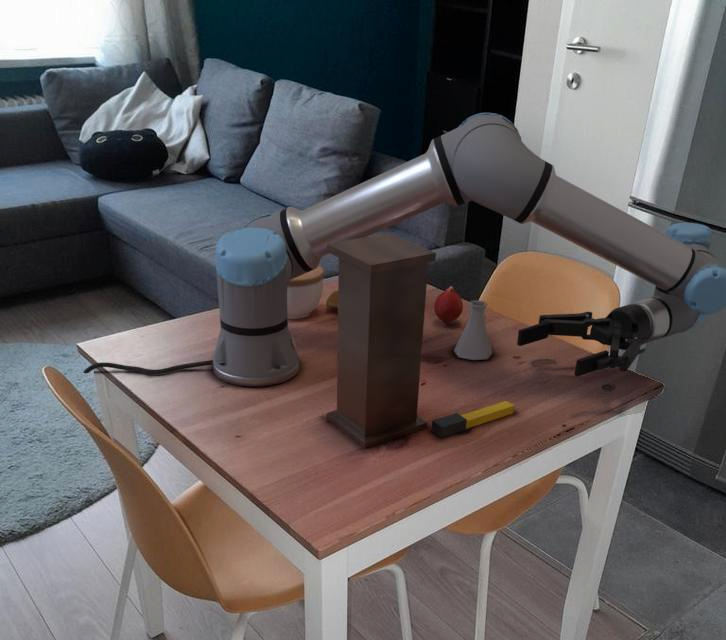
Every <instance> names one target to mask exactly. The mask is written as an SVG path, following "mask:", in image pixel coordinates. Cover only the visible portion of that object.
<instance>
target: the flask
mask: <svg viewBox="0 0 726 640" xmlns="http://www.w3.org/2000/svg"><path fill="white" fill-rule="evenodd" d="M469 306H470V311H469V315H468V319H467V322H466V324H465V326H464V329H463V331H462V333H461V336H460V337H459V340H458V341H457V343H456V345H455V347H454V350H453V352H454V353H455V355H456V356H457V357H458V358H462V359H465V360H470V361H479V360H488V359H489V358H490V357H491V356H492V354H493V351H492V347H491V343H490V340H489V336H488V331H487V326H486V317H485V316H486V315H485V311H486V308H487V307H488V303H487V302H486V301H485V300H480V299H479V300H477V299H476V300H475V299H474V300H470V302H469Z"/></svg>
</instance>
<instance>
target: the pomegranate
mask: <svg viewBox="0 0 726 640" xmlns="http://www.w3.org/2000/svg"><path fill="white" fill-rule="evenodd" d="M463 309H464V302H463V300H462V298H461V296H460V295H459V294H458V293H457V292H456V291H455V290H454V287H453V286H449V287H448V288H447V289H445V290H444V291H442V292H441V293H439V294H438V296H436V298H435V301H434V305H433V311H434V314H435V316H436V317H437V318H438V319H439V320H440V321H441V322H443V323H444V324H445V325H451V324H452V323H453V322H455V321H456V320H457V319H459V318H460V316H461V315H462V313H463Z"/></svg>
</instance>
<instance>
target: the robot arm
mask: <svg viewBox="0 0 726 640" xmlns="http://www.w3.org/2000/svg"><path fill="white" fill-rule="evenodd" d="M471 201H473V202H474V203H476V204H479V205H480V206H483V207H484V208H486V209H489V210H492V211H494V212H496V213H497V214H500V215H502V216H504V217H506V218H507V219H508V218H509V219H510V220H512V221H514V222H516V223H518V224H520V225H524V224H527V223H531V222H532V223H533V224H535V225H537V226H538V227H541V228H543V229H545V230H547V231H549V232H551V233H553V234H555V235H557V236H559V237H560V238H563V239H565V240H567V241H568V242H570V243H572V244H574V245H576V246H578V247H580V248H582V249H584V250H585V251H588V252H590V253H592V254H593V255H596V256H598V257H599V258H601V259H603V260H605V261H607V262H608V263H611V264H612V265H615V266H617V267H619V268H620V269H623V270H624V271H626V272H628V273H631V274H632V275H635V276H636V277H638V278H640V279H642V280H644V281H646V282H648V283H650V284H652V285H654V292H653V296H652V297H649V298H645V299H642V300H638V301H635V302H631V303H628V304H625V305H622V306H619V307H616V308H614V309H612V310H611V311H610V312H609V313H608V314H607V315H606V317H601V318H594V317H593V314H594V313H593V312H592V311H584V312H579V313H577V312H576V313H559V314H558V313H557V314H540V315H539V317H538V323H537V324H533V325H530V326H527V327H524V328H521V329H518V334H517V341H516V345H517V346H519V347H522V346H525V345H529V344H532V343H535V342H539V341H542V340H545V339H548V338H549V336H559V337H560V336H561V337H562V336H564V337H579V338H581V339H582V340H585V341H595V342H598V343H599V344H601V345H603V346H609V350H606V349H605V350H602V351H599V352H595V353H592V354H589V355H587V356H583V357H581V358H577V359H576V362H575V367H574V374H573V375H574V376H575V377H577V378H578V377H582V376H584V375H587V374H590V373H593V372H596V371H603V370H605V369H609V368H610V369H615V368H618V370H619V371H620V372H623V373H624V372H628V370H629V368H630V367H631V366H632V365H633V363H634V361H635V360H636V359H637V358H638V356H639V355H641V354H643V353H645V350H646V346H647V344H648V343H651V342H654V341H657V340H659V339H664V338H667V337H670V336H673V335H676V334H681V333H685V332H686V331H689V330H690V329H692V328H693V329H694V327H696V326H698V325H700V324H701V323H702V322H703V321H704V319H705V318H706V316H707V315H709V316H710V315H713V314H717V313H719V312H721V311H723V310H724V309H725V308H726V267H725V266H724V265H723V264H722V263H721V262H720V261H719V260H718V259H717V258H716V257H715V256H714V254H713V253H712V252H710V247H711V246H712V242H711V241H712V233H713V232H712V229H711V228H710V227H709V226H707V225H704V224H701V223H697V222H695V223H694V222H677V223H674V224H671V225H670V226H668V228H667V229H666V231H665V233H664V231H663V232H662V231H661V230H659V229H657V228H655V227H654V226H651V225H649V224H648V223H646V222H644V221H642V220H640V219H638V218H636V217H635V216H633V215H631V214H629V213H627V212H625V211H623V210H621V209H620V208H618V207H616V206H614V205H612V204H610V203H608V202H607V201H605V200H603V199H601V198H599V197H597V196H595V195H594V194H592V193H591V192H588V191H586V190H584V189H583V188H581V187H579V186H577V185H576V184H573V183H572V182H569V181H568V180H566V179H564V178H563V177H560V176H559V175H557V173H556V169H555V166H554V165H553V164H552V163H549V162H548V161H546V160H544V159H543V158H541V157H540V156H538V155H537V154H535V153H534V152H533V151H532V150H531V149H530V148H529V147H528V146H526V144H525V143H524V142H523V140H522V136H521V135H520V132H519V130H518V128H517V127H516V125H514V123H513V122H512V121H511V120H509V119H508V118H507V117H505V116H503V115H502V114H498V113H493V112H480V113H477V114H473V115H471V116H468V117H467V118H466V119H465V120H464V121H462V122H461V124H459V125H458V126H457V127H456V128H454V129H452V130H450V131H448V132H446V133H444V134H441V135H440V136H437V137H435V138H432V140H431V141H430V144H429V146H428V149H427V151H426V152H425V153H424V154H421V155H419V156H416V157H415V158H412V159H410V160H408V161H406V162H404V163H402V164H399V165H398V166H396V167H393V168H391V169H389V170H387V171H385V172H382V173H380V174H378V175H376V176H374V177H372V178H370V179H367V180H366V181H363V182H361V183H359V184H357V185H354V186H353V187H350V188H348V189H345V190H344V191H342V192H338V193H337V194H335V195H333V196H331V197H329V198H326V199H325V200H322V201H320V202H318V203H316V204H313V205H312V206H309V207H307V208H305V209H303V210H301V209H299V208H296V207H294V206H288V207H286V208H284V209H282V210H279V211H277V212H275V213H267V214H262V215H259V216H256V217H254V218H253V219H251V220H250V221H249V222H247V223H246V224H245V225H244V227H242V228H238V229H234V230H233V231H228V232H226V233H225V234H223V235H222V236H221V237H220V238H219V239H218V240H217V242H216V245H215V255H214V267H215V271H216V283H217V284H216V285H217V298H218V310H219V322H220V330H219V334H218V338H217V342H216V346H215V350H214V353H213V357H212V359H211V360H203V361H195V362H189V363H184V364H177V365H172V366H169V367H164V368H159V369H158V368H157V369H151V368H144V367H140V366H134V365H126V364H125V365H124V364H120V363H113V362H104V361H102V362H96V363H93V364H91V365H89V366H88V367H86V368H85V369H84V371H82V373H83V374H89V373H91V372H92V371H94V370H96V369H99V368H109V369H110V368H112V369H117V370H122V371H129V372H138V373H141V374H146V375H162V374H167V373H172V372H176V371H181V370H186V369H191V368H200V367H206V366H212V369H213V373H214V375H215V376H216V377H217V378H219V380H221V381H224V382H225V383H228V384H231V385H236V386H240V387H251V388H252V387H253V388H254V387H255V388H257V387H268V386H274V385H278V384H280V383H284V382H287V381H288V380H290V379H292V378H293V377H295V376H296V375H297V374H298V373H299V369H300V358H299V353H298V351H297V348H296V342H295V340H294V337H293V336H292V335H291V332H290V329H289V321H288V312H287V287H288V285H289V282H290V280H292V279H294V278H296V277H298V276H301V275H303V274H305V273H307V272H310V271H312V270H314V269H316V268H317V267H318V265H319V266H320V262H321V259H322V258H323V257H324V256H327V255H329V254H330V253H328V252H327V244H328V243H334V242H340V241H346V240H352V239H357V238H363V237H367V236H373V235H374V234H376V233H378V232H381V231H383V230H385V229H388V228H390V227H392V226H394V225H396V224H399V223H401V222H403V221H405V220H408V219H410V218H413V217H414V216H417V215H419V214H421V213H423V212H426V211H428V210H431V209H433V208H435V207H437V206H439V205H440V206H441V205H443V204H448V205H451V206H453V207H460V206H462V205H465V204H467V203H469V202H471ZM589 327H590V330H589ZM588 330H589V331H590V332H589V333H588ZM620 350H622V351H624V352H623V353H622V355H619V353H620Z"/></svg>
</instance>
